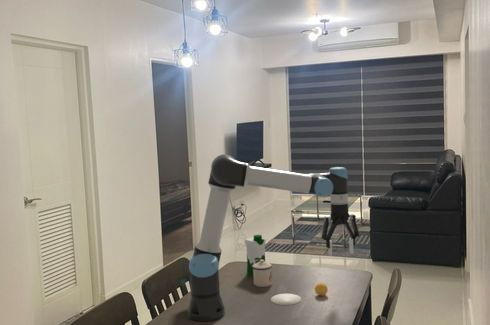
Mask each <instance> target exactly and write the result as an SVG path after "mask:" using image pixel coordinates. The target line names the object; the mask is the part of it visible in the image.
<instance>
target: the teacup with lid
mask: <svg viewBox="0 0 490 325" xmlns="http://www.w3.org/2000/svg"><path fill="white" fill-rule="evenodd" d="M272 268H273V265H272V264H271V263H270V262H267V261H265V262H264V260H260V262H258V263H256V264H254V265H253V276H252V277H253V285H254V286H256V287H258V288H259V287H260V288H264V287H269V286H271V285H272V284H273V277H272V276H273V275H272Z"/></svg>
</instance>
